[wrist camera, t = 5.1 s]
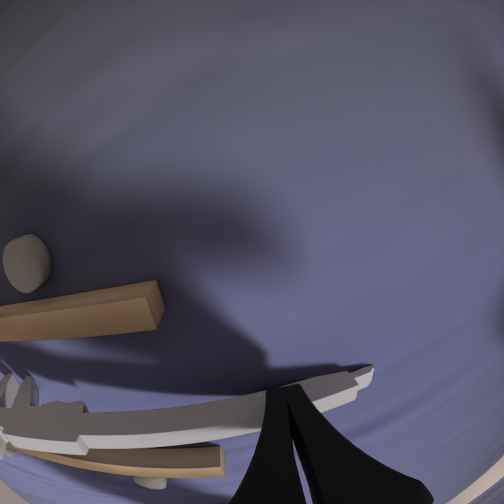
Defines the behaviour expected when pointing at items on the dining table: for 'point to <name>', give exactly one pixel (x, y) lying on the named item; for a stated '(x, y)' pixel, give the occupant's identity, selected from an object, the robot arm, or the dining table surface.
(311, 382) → the caliper
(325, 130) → the dining table surface
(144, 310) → the rails
